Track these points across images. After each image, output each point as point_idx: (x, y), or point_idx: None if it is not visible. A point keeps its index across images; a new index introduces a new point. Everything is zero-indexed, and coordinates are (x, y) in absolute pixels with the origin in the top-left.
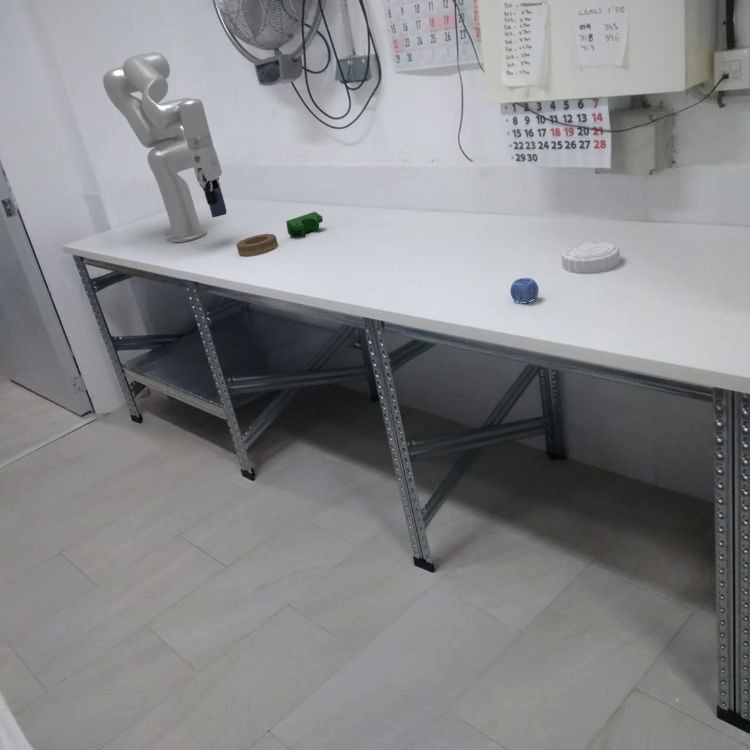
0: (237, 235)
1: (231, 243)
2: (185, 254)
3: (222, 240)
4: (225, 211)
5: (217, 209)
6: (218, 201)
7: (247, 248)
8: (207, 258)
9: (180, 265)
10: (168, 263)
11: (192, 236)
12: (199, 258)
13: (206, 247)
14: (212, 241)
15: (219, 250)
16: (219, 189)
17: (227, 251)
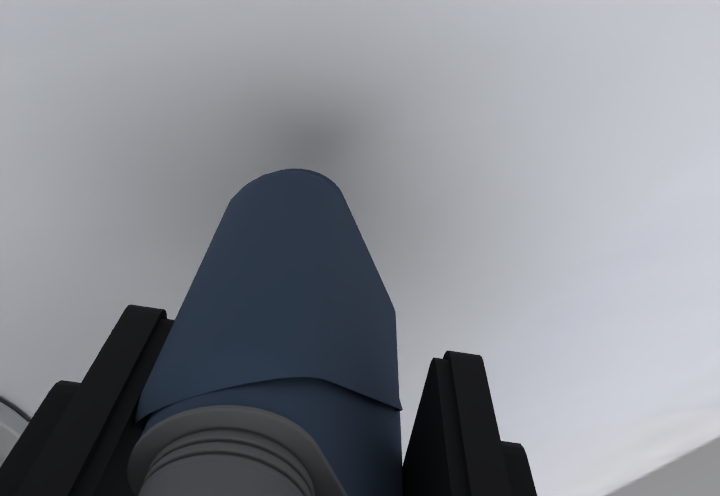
0: (51, 76)
1: (329, 84)
2: (413, 406)
3: (162, 197)
4: (323, 183)
5: (370, 309)
6: (351, 347)
7: None
8: (699, 220)
9: (711, 386)
10: (570, 467)
11: (12, 443)
12: (633, 286)
13: None
14: (147, 278)
15: (507, 160)
16: (210, 472)
17: (614, 69)
